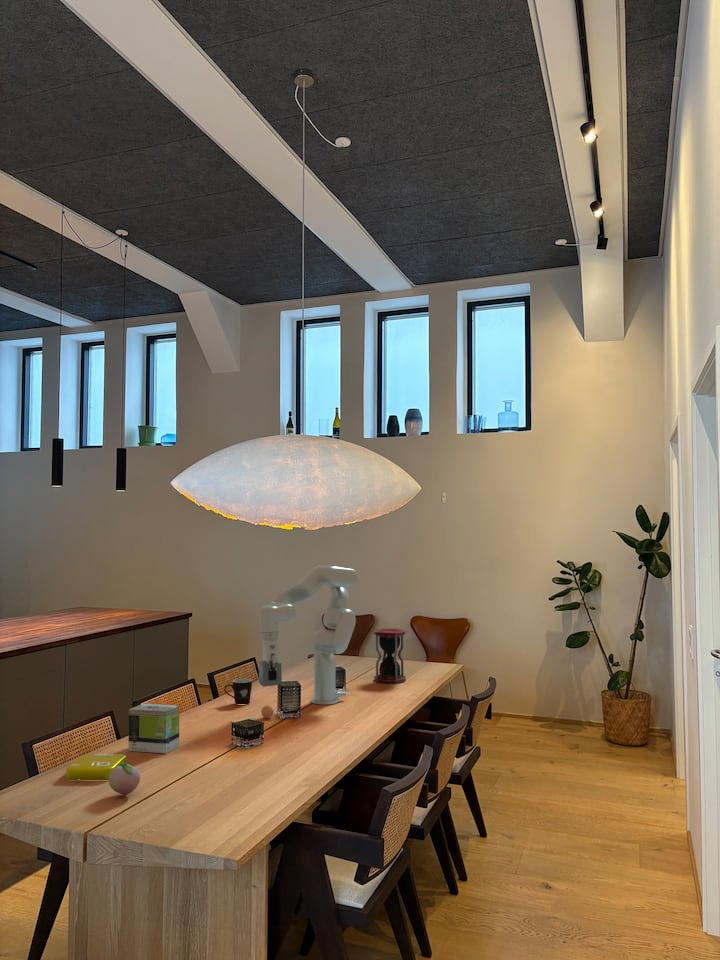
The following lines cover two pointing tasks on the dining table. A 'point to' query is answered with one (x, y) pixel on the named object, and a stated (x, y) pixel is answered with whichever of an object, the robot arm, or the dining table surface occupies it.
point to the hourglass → (389, 656)
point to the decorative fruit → (124, 778)
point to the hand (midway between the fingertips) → (270, 677)
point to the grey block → (265, 674)
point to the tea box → (154, 728)
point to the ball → (267, 711)
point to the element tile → (94, 766)
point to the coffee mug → (241, 690)
